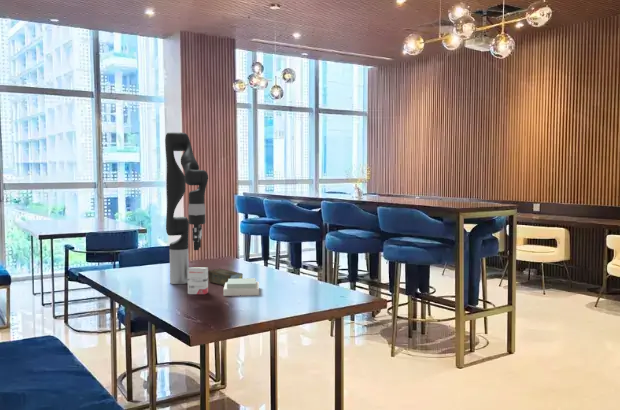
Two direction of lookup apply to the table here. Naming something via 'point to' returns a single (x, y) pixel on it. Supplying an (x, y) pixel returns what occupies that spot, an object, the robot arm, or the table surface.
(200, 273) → the ink box
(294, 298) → the table surface
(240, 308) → the table surface
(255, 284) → the mint framed tile
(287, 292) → the table surface
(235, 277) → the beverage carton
